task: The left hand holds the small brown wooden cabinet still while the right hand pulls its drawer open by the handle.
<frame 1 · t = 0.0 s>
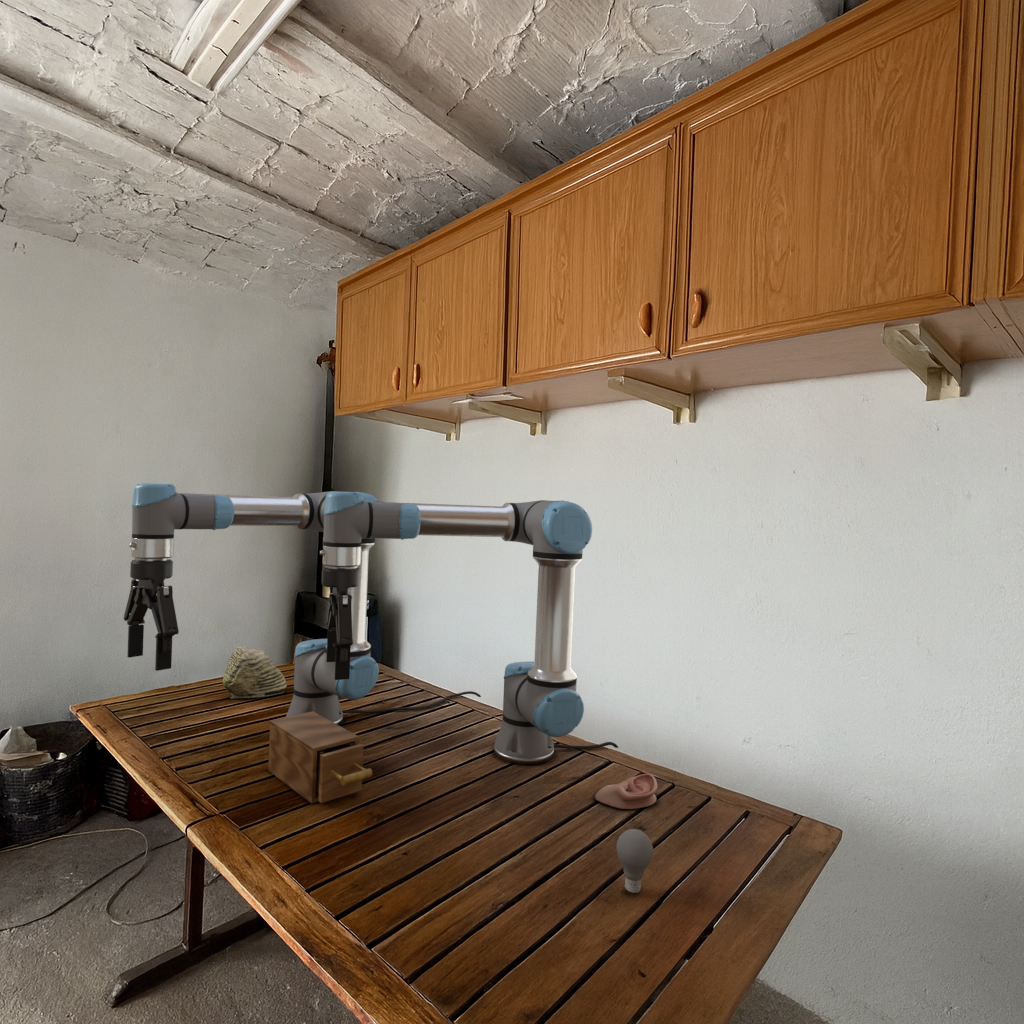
left hand: (148, 662, 129), 28 cm above the table, tool pointing down, fingers open, 13 cm apart
right hand: (337, 670, 130), 28 cm above the table, tool pointing down, fingers open, 13 cm apart
light bulb: (632, 891, 106), on the table
fossil: (254, 694, 198), on the table
drawer: (327, 763, 137), point 6 cm above the table, slide at 1.7 cm
cabinet: (311, 779, 142), on the table
anatomical model: (626, 798, 139), on the table
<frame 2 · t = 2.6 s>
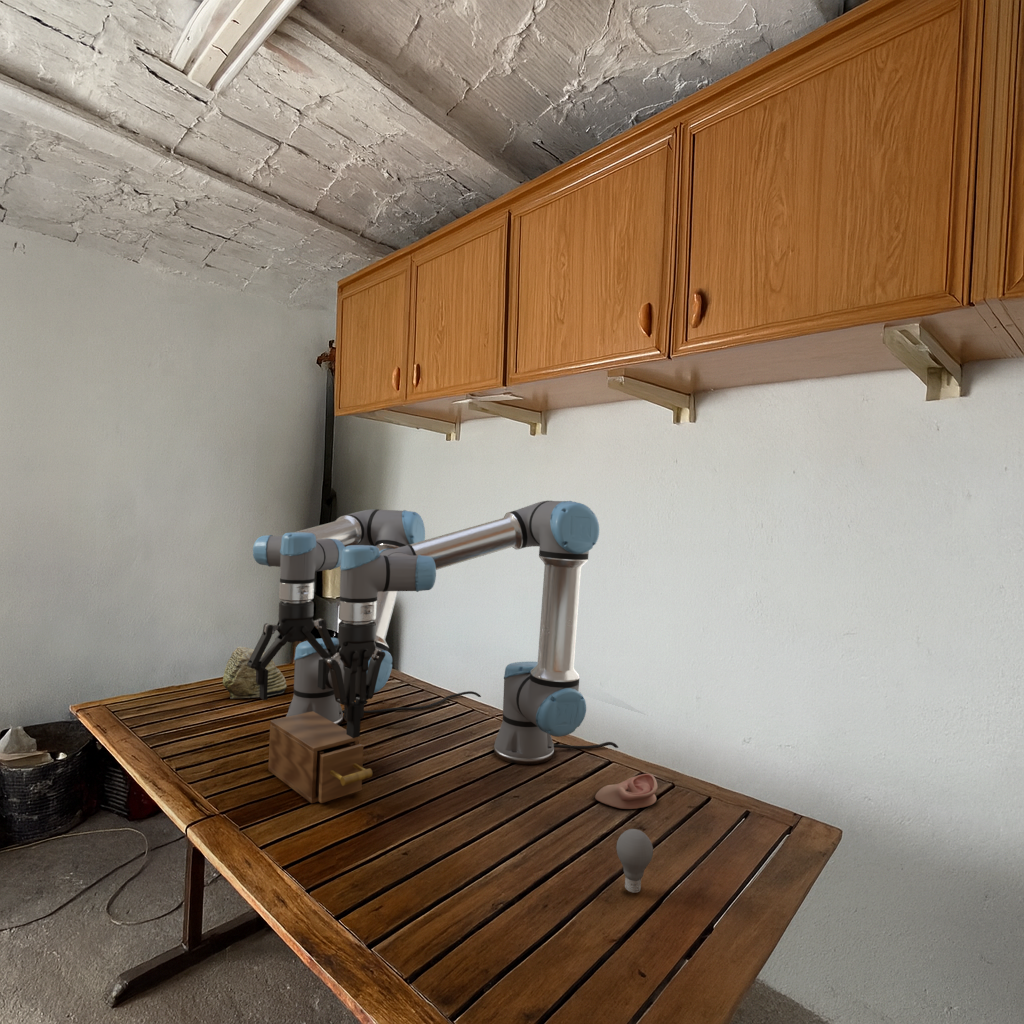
left hand: (293, 693, 145), 18 cm above the table, tool pointing down, fingers open, 13 cm apart
right hand: (353, 735, 130), 15 cm above the table, tool pointing down, fingers closed
nothing on the table moved.
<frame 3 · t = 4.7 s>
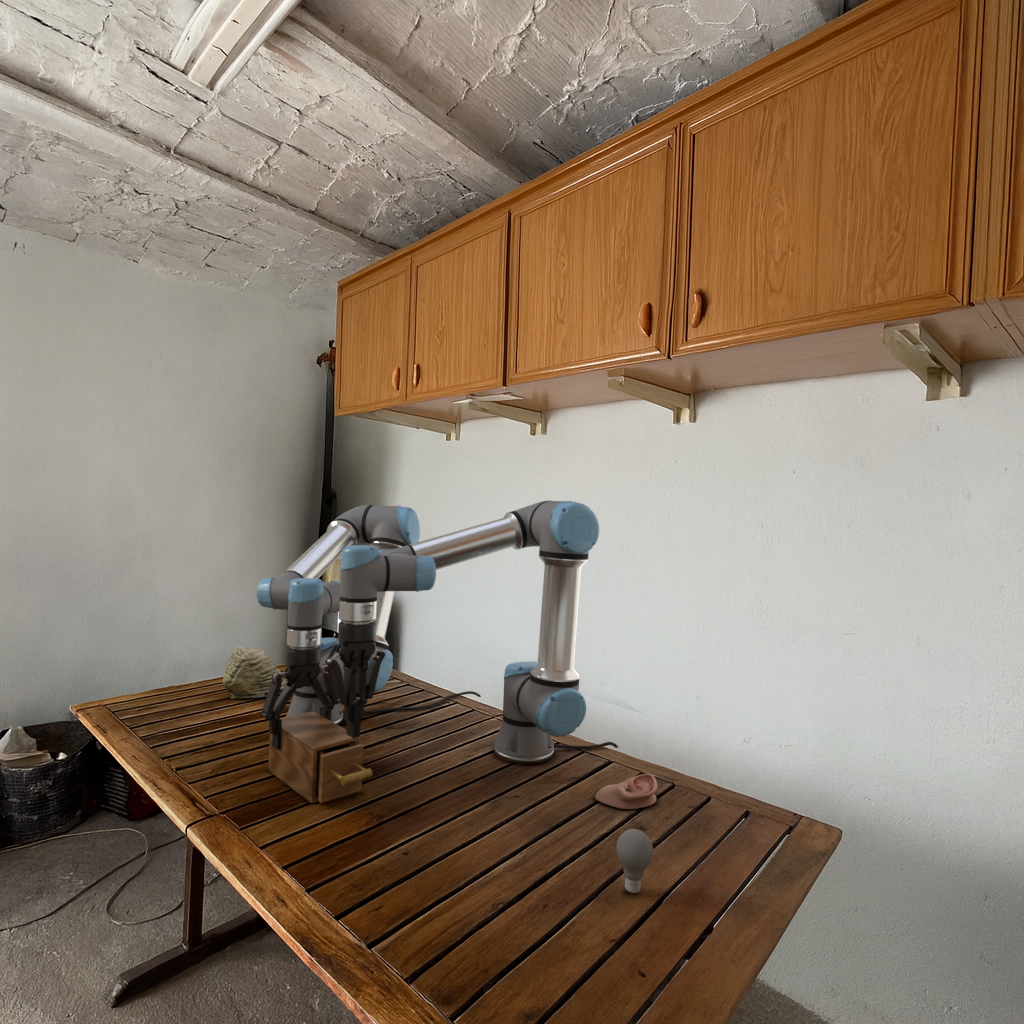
left hand: (300, 741, 146), 7 cm above the table, tool pointing down, fingers closed on cabinet, 11 cm apart
right hand: (353, 735, 130), 15 cm above the table, tool pointing down, fingers closed
cabinet: (311, 779, 142), on the table, touching left hand
everything else where it was.
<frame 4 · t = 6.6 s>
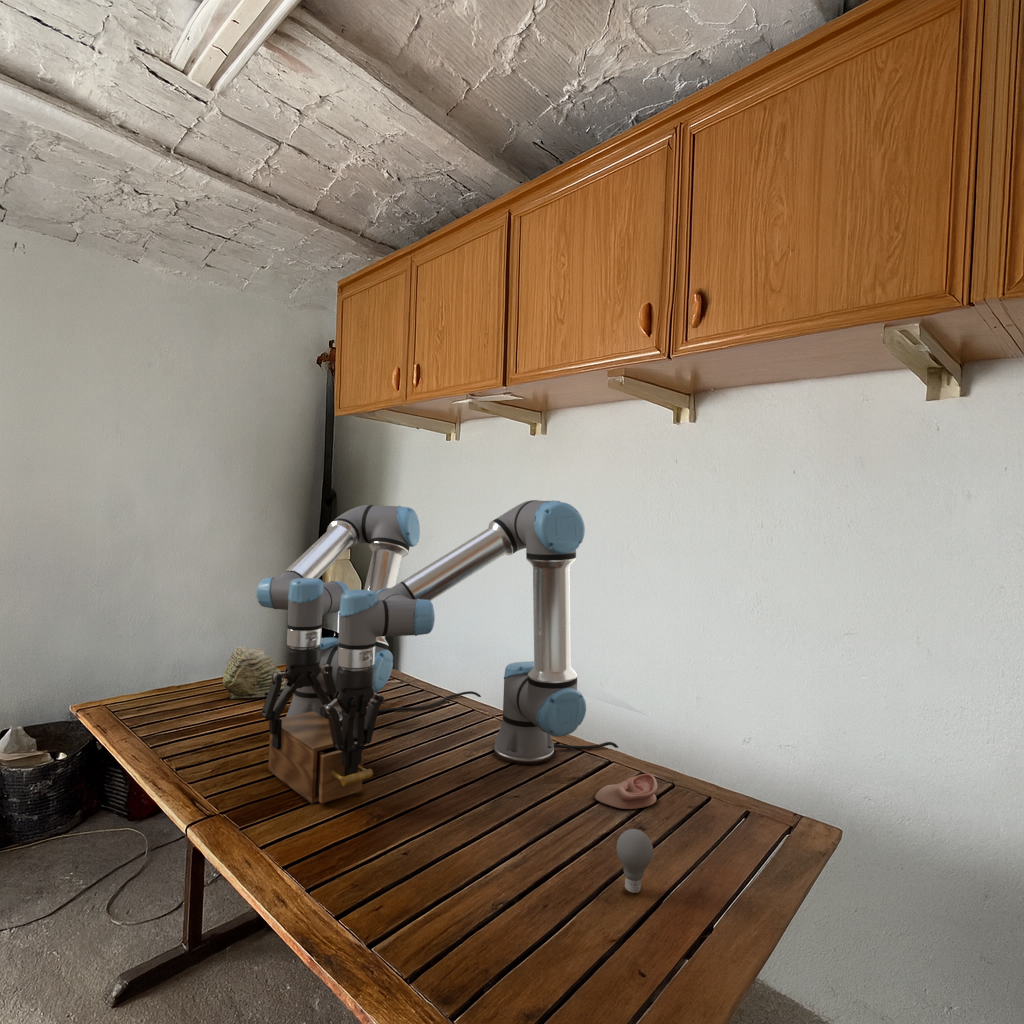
left hand: (300, 741, 146), 7 cm above the table, tool pointing down, fingers closed on cabinet, 11 cm apart
right hand: (350, 780, 130), 5 cm above the table, tool pointing down, fingers closed
drawer: (327, 763, 137), point 6 cm above the table, slide at 1.8 cm, touching right hand
cabinet: (311, 779, 142), on the table, touching left hand
everything else where it was.
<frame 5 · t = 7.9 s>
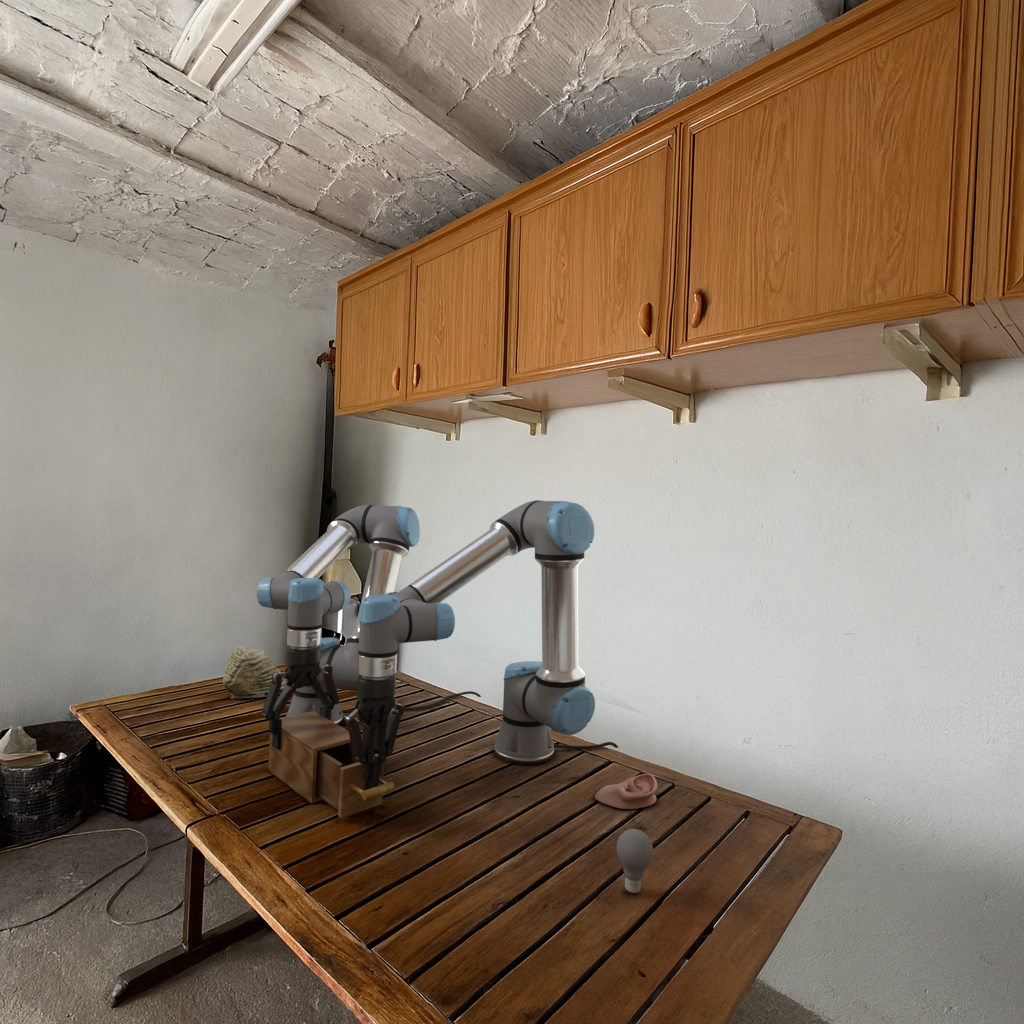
left hand: (300, 741, 146), 7 cm above the table, tool pointing down, fingers closed on cabinet, 11 cm apart
right hand: (371, 793, 125), 5 cm above the table, tool pointing down, fingers closed
drawer: (345, 775, 131), point 6 cm above the table, slide at 9.5 cm, touching right hand
cabinet: (311, 779, 142), on the table, touching left hand
everything else where it was.
when the left hand's fingers open (7 cm above the table, at t = 9.8 s): cabinet stays where it is, on the table.
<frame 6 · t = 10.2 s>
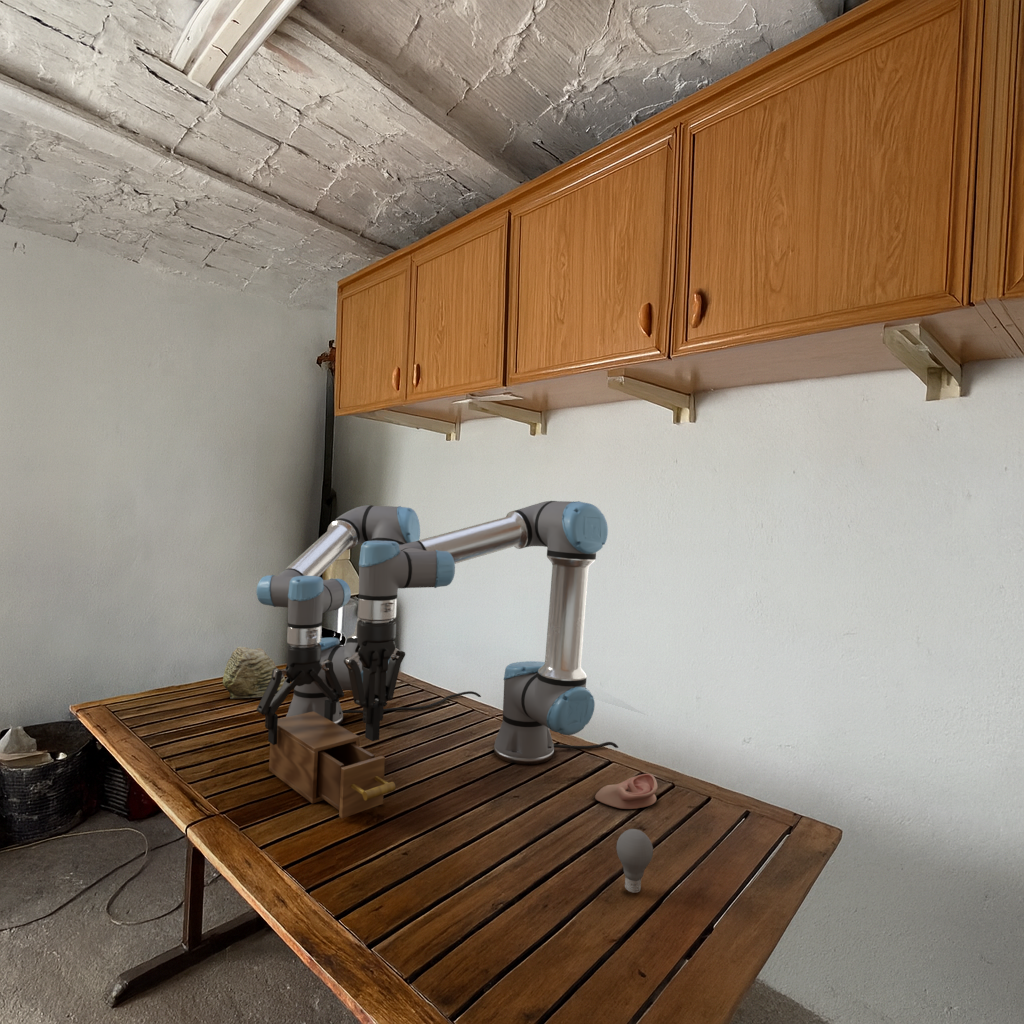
left hand: (301, 735, 146), 8 cm above the table, tool pointing down, fingers open, 13 cm apart
right hand: (372, 738, 125), 16 cm above the table, tool pointing down, fingers closed
drawer: (346, 775, 131), point 6 cm above the table, slide at 9.6 cm
cabinet: (312, 779, 142), on the table
everything else where it was.
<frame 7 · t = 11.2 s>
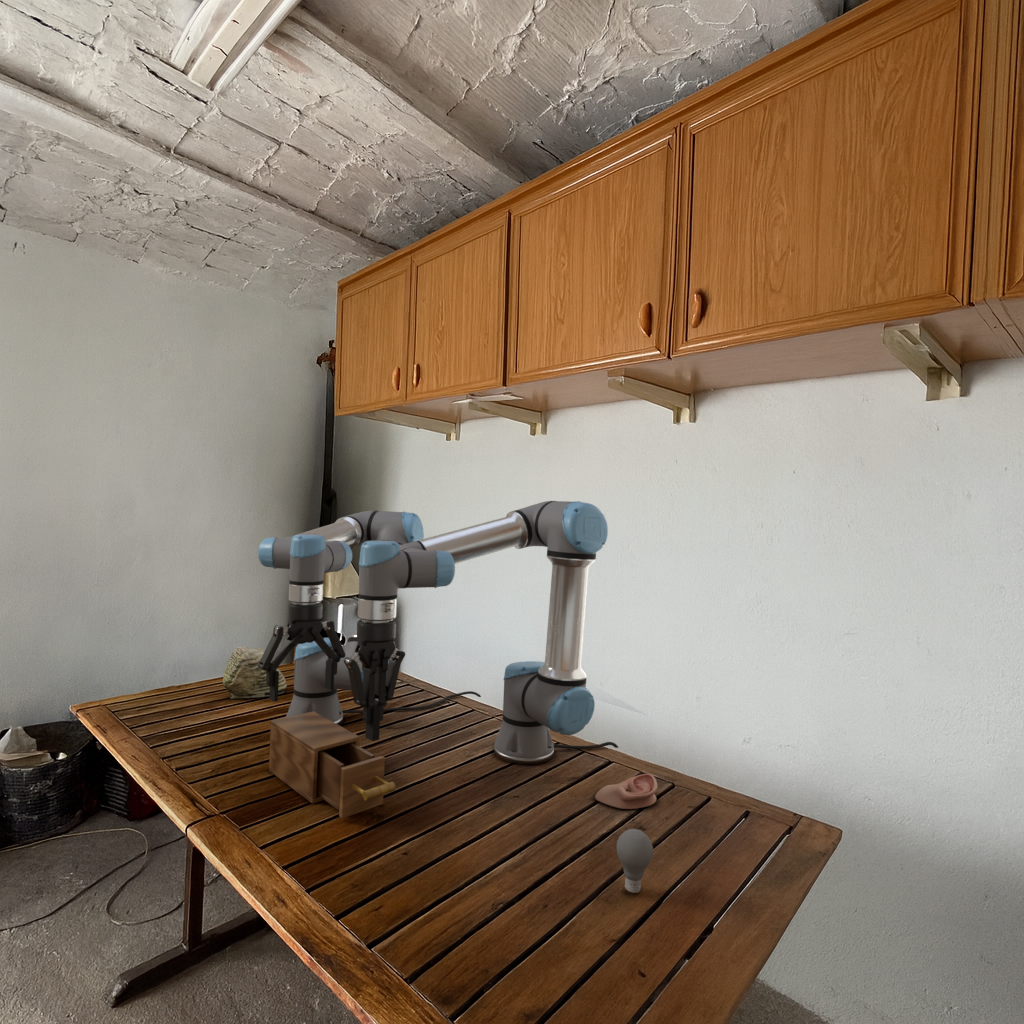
left hand: (302, 694, 146), 18 cm above the table, tool pointing down, fingers open, 13 cm apart
right hand: (372, 738, 125), 16 cm above the table, tool pointing down, fingers closed
nothing on the table moved.
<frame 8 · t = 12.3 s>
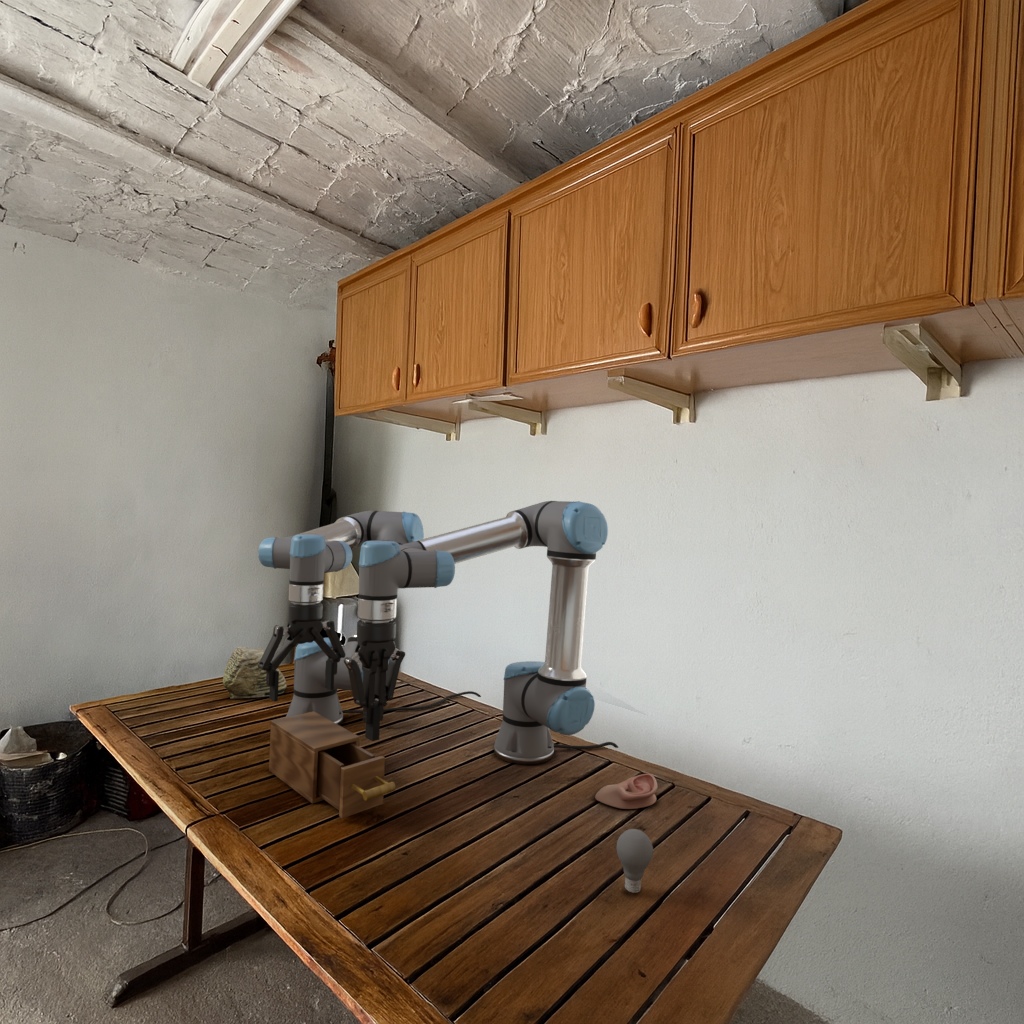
left hand: (302, 694, 146), 18 cm above the table, tool pointing down, fingers open, 13 cm apart
right hand: (372, 738, 125), 16 cm above the table, tool pointing down, fingers closed
nothing on the table moved.
at the end: drawer slide at 9.6 cm; cabinet tilted 0°; cabinet never tilted more than 1° during the clip; cabinet moved 0.2 cm from its start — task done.
